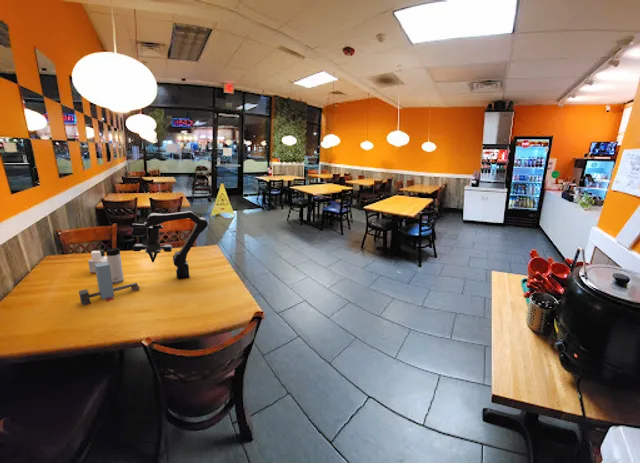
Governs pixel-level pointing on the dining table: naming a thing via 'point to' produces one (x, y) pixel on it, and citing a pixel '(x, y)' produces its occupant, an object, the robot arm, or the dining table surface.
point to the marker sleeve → (104, 280)
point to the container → (96, 259)
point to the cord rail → (86, 296)
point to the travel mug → (115, 265)
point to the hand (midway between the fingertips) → (153, 262)
